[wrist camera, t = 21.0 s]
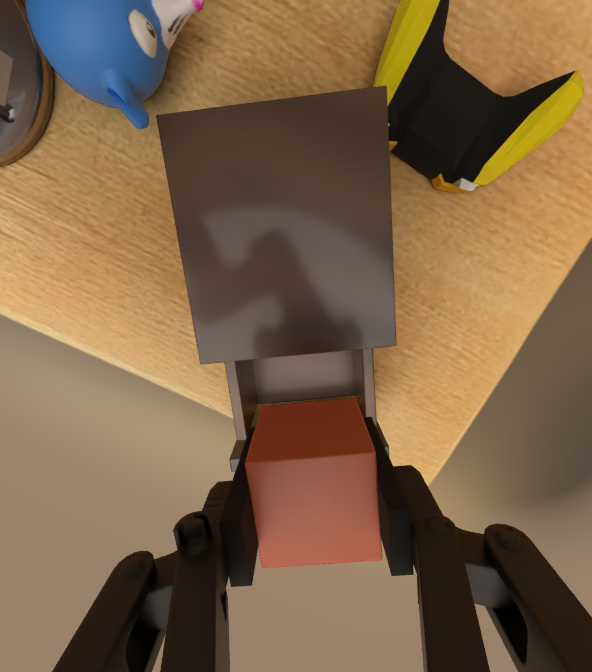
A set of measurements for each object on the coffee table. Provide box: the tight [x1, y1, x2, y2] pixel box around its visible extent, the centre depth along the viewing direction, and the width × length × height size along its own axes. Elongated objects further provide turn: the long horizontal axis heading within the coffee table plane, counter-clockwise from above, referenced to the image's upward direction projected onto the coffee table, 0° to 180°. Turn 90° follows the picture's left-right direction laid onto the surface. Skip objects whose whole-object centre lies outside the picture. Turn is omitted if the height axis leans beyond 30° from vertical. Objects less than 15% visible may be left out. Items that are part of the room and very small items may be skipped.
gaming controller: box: [372, 0, 584, 193], centre depth 25 cm, size 15×6×10 cm
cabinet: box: [156, 86, 396, 364], centre depth 26 cm, size 16×14×10 cm
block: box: [245, 398, 382, 568], centre depth 15 cm, size 5×5×5 cm
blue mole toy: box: [25, 0, 204, 129], centre depth 24 cm, size 12×12×8 cm
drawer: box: [225, 348, 389, 472], centre depth 29 cm, size 20×13×8 cm, turn 6°
